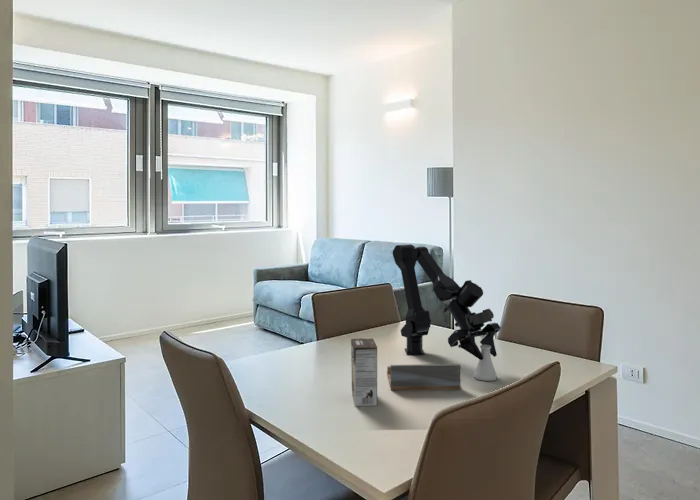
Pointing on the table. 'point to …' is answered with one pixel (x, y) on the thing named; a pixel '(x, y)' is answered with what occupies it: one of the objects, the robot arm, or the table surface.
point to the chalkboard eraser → (424, 377)
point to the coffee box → (364, 372)
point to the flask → (485, 366)
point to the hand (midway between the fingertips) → (489, 357)
